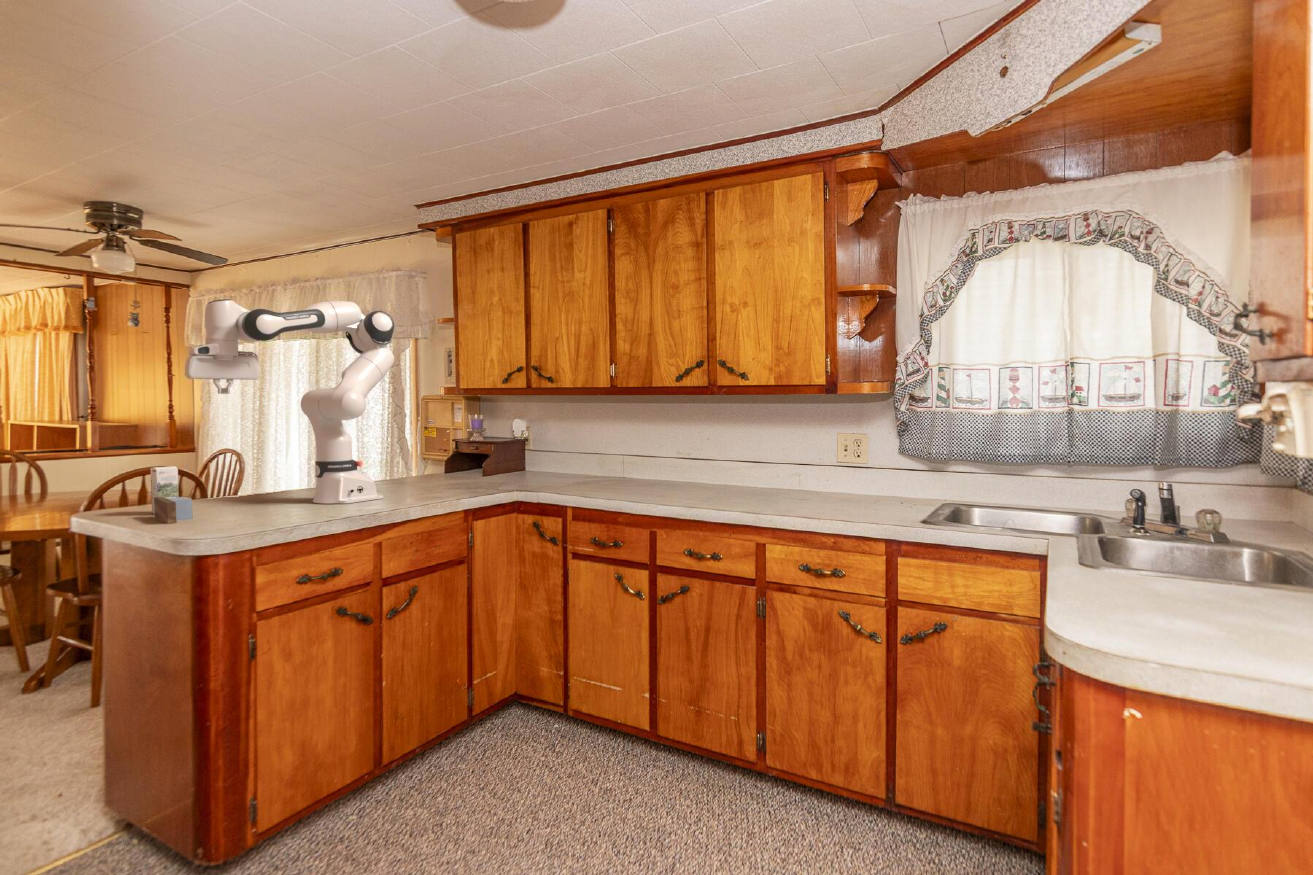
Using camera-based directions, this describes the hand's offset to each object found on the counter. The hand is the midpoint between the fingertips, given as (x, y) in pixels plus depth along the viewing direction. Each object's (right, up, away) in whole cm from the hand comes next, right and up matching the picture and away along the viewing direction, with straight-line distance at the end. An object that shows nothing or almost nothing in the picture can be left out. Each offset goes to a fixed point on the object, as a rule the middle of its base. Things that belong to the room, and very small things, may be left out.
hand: (223, 393), depth 219 cm
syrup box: (-14, -38, -7) cm, 41 cm away
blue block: (-3, -38, -16) cm, 41 cm away
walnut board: (-6, -38, -18) cm, 43 cm away
